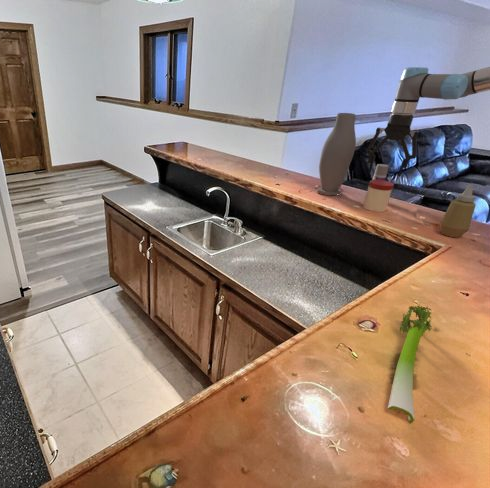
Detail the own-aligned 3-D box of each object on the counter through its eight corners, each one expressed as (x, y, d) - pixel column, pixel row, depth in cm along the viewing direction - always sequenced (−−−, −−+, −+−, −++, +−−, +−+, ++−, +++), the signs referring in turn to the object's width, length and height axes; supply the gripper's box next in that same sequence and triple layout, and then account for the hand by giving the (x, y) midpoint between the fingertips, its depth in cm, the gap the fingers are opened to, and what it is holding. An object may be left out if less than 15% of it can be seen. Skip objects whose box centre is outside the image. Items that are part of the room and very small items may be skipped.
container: (381, 199, 156) (391, 165, 149) (375, 200, 154) (385, 167, 147) (371, 196, 160) (380, 163, 153) (365, 197, 157) (374, 164, 151)
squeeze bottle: (435, 228, 127) (454, 180, 119) (463, 233, 124) (484, 183, 116) (437, 236, 121) (457, 185, 113) (466, 241, 118) (489, 190, 109)
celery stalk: (371, 413, 60) (395, 314, 80) (417, 439, 57) (430, 329, 77) (387, 392, 56) (408, 295, 77) (437, 419, 53) (445, 310, 74)
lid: (393, 186, 142) (394, 182, 141) (391, 191, 136) (392, 187, 135) (370, 182, 147) (371, 178, 146) (367, 187, 140) (368, 183, 139)
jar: (386, 207, 146) (394, 183, 142) (384, 213, 140) (392, 188, 135) (364, 203, 151) (371, 179, 146) (361, 209, 144) (368, 184, 140)
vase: (329, 187, 170) (346, 111, 155) (350, 195, 160) (371, 114, 144) (307, 190, 166) (323, 112, 150) (328, 199, 155) (347, 115, 140)
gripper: (438, 115, 126) (417, 176, 136) (370, 110, 137) (355, 167, 147) (438, 117, 120) (416, 180, 130) (367, 112, 132) (352, 170, 142)
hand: (384, 173), depth 139 cm, fingers open, 10 cm apart
